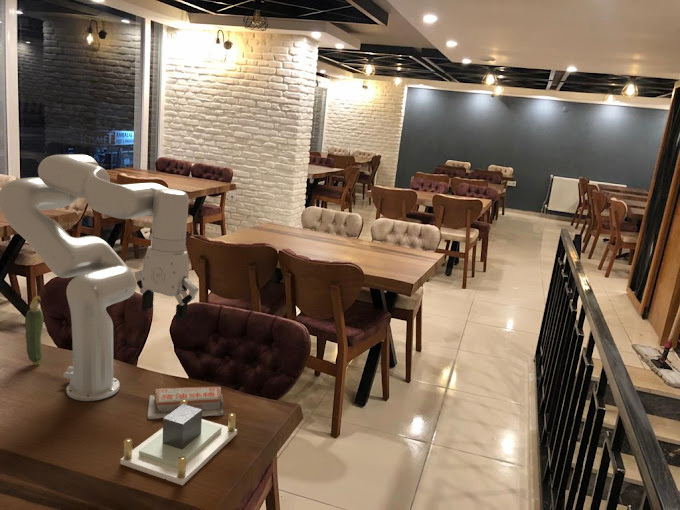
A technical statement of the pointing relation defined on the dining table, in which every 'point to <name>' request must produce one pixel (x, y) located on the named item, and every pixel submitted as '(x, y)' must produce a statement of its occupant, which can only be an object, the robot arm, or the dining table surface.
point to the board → (174, 452)
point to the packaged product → (195, 396)
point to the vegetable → (34, 331)
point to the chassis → (184, 469)
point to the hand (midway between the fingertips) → (163, 314)
